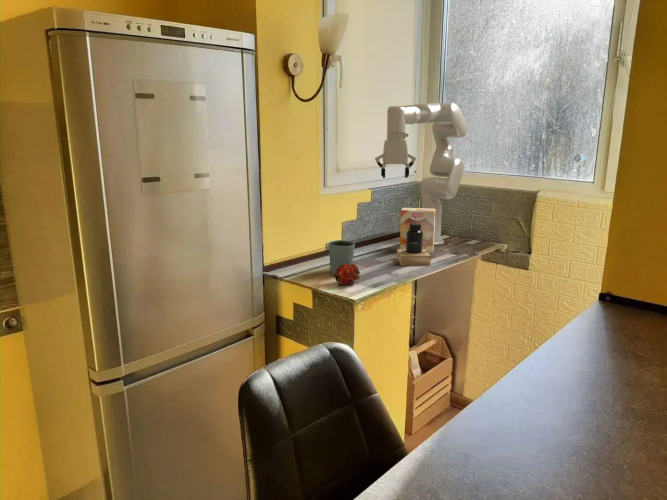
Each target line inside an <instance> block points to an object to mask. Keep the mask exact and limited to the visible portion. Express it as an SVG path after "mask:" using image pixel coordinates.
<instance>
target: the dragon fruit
mask: <svg viewBox="0 0 667 500" xmlns="http://www.w3.org/2000/svg"><path fill="white" fill-rule="evenodd" d="M360 272H361V271H359V267H358V266H357V265H356V263H354V262H353V263H352V264H351V265H350V264H349V263H348V262H346V265H342V264H341V265H340V267H339V268H337V269H336V274H335V275H333V277H334V279H335V281H336V282H338V286H345V285H347V284H348V285H349V286H352V285H353V284H355V281H357V280H360V276H359V275H360V274H361V273H360Z"/></svg>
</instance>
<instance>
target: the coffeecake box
mask: <svg viewBox="0 0 667 500" xmlns="http://www.w3.org/2000/svg"><path fill="white" fill-rule="evenodd" d="M435 210H436V209H426V208H422V207H421V208H419V207H402V208H401V210H400V228H399V229H400V232H399V233H400V234H399V235H400V236H399V249H406V237H407V231H408V230H410V228H409V225H410V223H419V224H421V229H420V230H421V231H422V232H423V245H422V249H425V250H426V251H427V252H428V253H429V254H430V255H432V254H433V255H434V251H435V245H434V232H435Z"/></svg>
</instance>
